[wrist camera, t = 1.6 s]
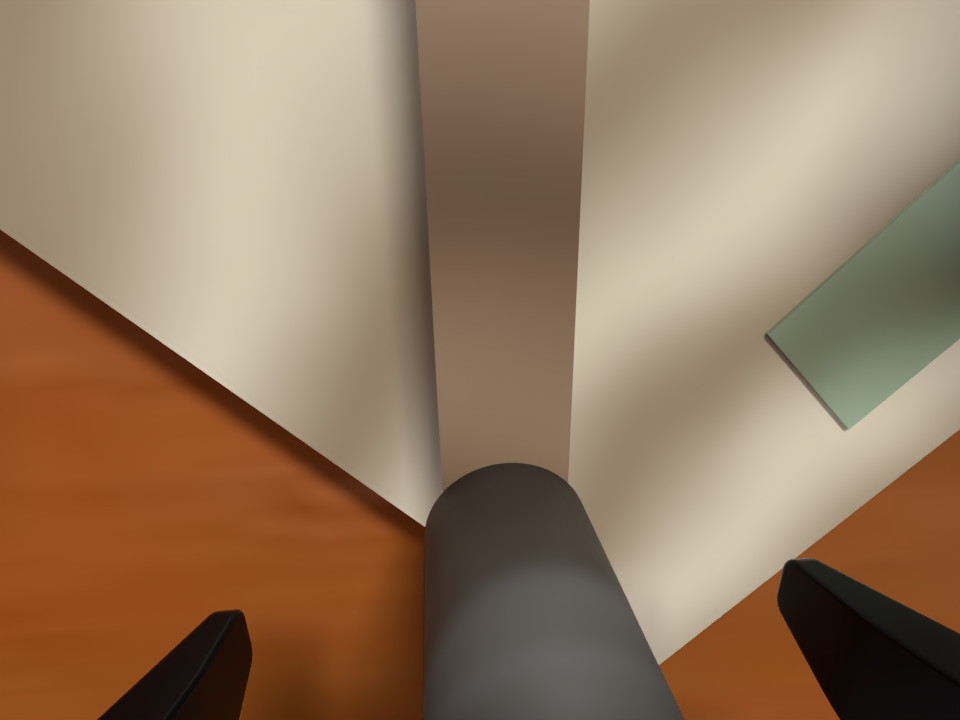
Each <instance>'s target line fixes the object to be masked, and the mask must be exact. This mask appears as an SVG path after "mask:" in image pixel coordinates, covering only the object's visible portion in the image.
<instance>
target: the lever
mask: <svg viewBox="0 0 960 720" xmlns="http://www.w3.org/2000/svg"><path fill="white" fill-rule="evenodd" d="M415 3H416V21H417V39H418V57H419V75H420V93H421V111H422V129H423V147H424V165H425V183H426V202H427V220H428V238H429V256H430V274H431V292H432V310H433V328H434V346H435V364H436V382H437V400H438V418H439V436H440V454H441V472H442V490H443V493H442V494H441V495H440V496H439V497H438V499H437V500H436V502H435V503H434V505H433V507H432V509H431V511H430V513H429V515H428V518H427V521H426V526H425V542H424V640H423V720H684V718H683V716H682V714H681V712H680V710H679V707H678V705H677V703H676V701H675V699H674V697H673V695H672V693H671V691H670V688H669V686H668V684H667V682H666V680H665V678H664V676H663V674H662V671H661V669H660V667H659V665H658V663H657V661H656V659H655V657H654V655H653V652H652V650H651V648H650V646H649V644H648V642H647V640H646V638H645V636H644V633H643V631H642V629H641V627H640V625H639V623H638V621H637V619H636V616H635V614H634V612H633V610H632V608H631V606H630V604H629V602H628V600H627V597H626V595H625V593H624V591H623V589H622V587H621V585H620V583H619V580H618V578H617V576H616V574H615V572H614V570H613V568H612V566H611V564H610V561H609V559H608V557H607V555H606V553H605V551H604V549H603V547H602V545H601V542H600V540H599V538H598V536H597V534H596V532H595V530H594V528H593V525H592V523H591V521H590V519H589V517H588V515H587V513H586V511H585V509H584V506H583V504H582V502H581V500H580V498H579V497H578V495H577V493H576V492H575V491H574V489H573V488H572V487H571V486H570V485H569V484H568V475H569V452H570V430H571V408H572V385H573V363H574V341H575V318H576V296H577V274H578V251H579V229H580V207H581V185H582V162H583V140H584V118H585V95H586V73H587V51H588V28H589V6H590V0H415Z"/></svg>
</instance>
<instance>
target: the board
mask: <svg viewBox="0 0 960 720" xmlns="http://www.w3.org/2000/svg"><path fill="white" fill-rule="evenodd" d="M0 230H2V231H3V232H5V233H6V234H7V235H9V236H10V237H12V238H13V239H15V240H16V241H17V242H19V243H20V244H22V245H23V246H25V247H26V248H27V249H29V250H30V251H32V252H33V253H35V254H36V255H37V256H39V257H40V258H42V259H43V260H45V261H46V262H47V263H49V264H50V265H52V266H53V267H55V268H56V269H57V270H59V271H60V272H62V273H63V274H65V275H66V276H67V277H69V278H70V279H72V280H73V281H75V282H76V283H77V284H79V285H80V286H82V287H83V288H85V289H86V290H87V291H89V292H90V293H92V294H93V295H95V296H96V297H97V298H99V299H100V300H102V301H103V302H105V303H106V304H107V305H109V306H110V307H112V308H113V309H115V310H116V311H117V312H119V313H120V314H122V315H123V316H125V317H126V318H127V319H129V320H130V321H132V322H133V323H135V324H136V325H137V326H139V327H140V328H142V329H143V330H144V331H146V332H147V333H149V334H150V335H152V336H153V337H154V338H156V339H157V340H159V341H160V342H162V343H163V344H164V345H166V346H167V347H169V348H170V349H172V350H173V351H174V352H176V353H177V354H179V355H180V356H182V357H183V358H184V359H186V360H187V361H189V362H190V363H192V364H193V365H194V366H196V367H197V368H199V369H200V370H202V371H203V372H204V373H206V374H207V375H209V376H210V377H212V378H213V379H214V380H216V381H217V382H219V383H220V384H222V385H223V386H224V387H226V388H227V389H229V390H230V391H232V392H233V393H234V394H236V395H237V396H239V397H240V398H242V399H243V400H244V401H246V402H247V403H249V404H250V405H252V406H253V407H254V408H256V409H257V410H259V411H260V412H262V413H263V414H264V415H266V416H267V417H269V418H270V419H272V420H273V421H274V422H276V423H277V424H279V425H280V426H282V427H283V428H284V429H286V430H287V431H289V432H290V433H292V434H293V435H294V436H296V437H297V438H299V439H300V440H301V441H303V442H304V443H306V444H307V445H309V446H310V447H311V448H313V449H314V450H316V451H317V452H319V453H320V454H321V455H323V456H324V457H326V458H327V459H329V460H330V461H331V462H333V463H334V464H336V465H337V466H339V467H340V468H341V469H343V470H344V471H346V472H347V473H349V474H350V475H351V476H353V477H354V478H356V479H357V480H359V481H360V482H361V483H363V484H364V485H366V486H367V487H369V488H370V489H371V490H373V491H374V492H376V493H377V494H379V495H380V496H381V497H383V498H384V499H386V500H387V501H389V502H390V503H391V504H393V505H394V506H396V507H397V508H399V509H400V510H401V511H403V512H404V513H406V514H407V515H409V516H410V517H411V518H413V519H414V520H416V521H417V522H419V523H420V524H421V525H423V526H424V527H425V526H426V521H427V518H428V515H429V513H430V511H431V509H432V507H433V505H434V503H435V502H436V500H437V499H438V497H439V496H440V495H441V494H442V493H443V490H442V472H441V454H440V436H439V418H438V400H437V382H436V364H435V346H434V328H433V310H432V292H431V274H430V256H429V238H428V220H427V202H426V183H425V165H424V147H423V129H422V111H421V93H420V75H419V57H418V39H417V21H416V3H415V0H0ZM959 429H960V0H590V6H589V28H588V51H587V73H586V95H585V118H584V140H583V162H582V185H581V207H580V229H579V251H578V274H577V296H576V318H575V341H574V363H573V385H572V408H571V430H570V452H569V475H568V484H569V485H570V486H571V487H572V488H573V489H574V491H575V492H576V493H577V495H578V497H579V498H580V500H581V502H582V504H583V506H584V509H585V511H586V513H587V515H588V517H589V519H590V521H591V523H592V525H593V528H594V530H595V532H596V534H597V536H598V538H599V540H600V542H601V545H602V547H603V549H604V551H605V553H606V555H607V557H608V559H609V561H610V564H611V566H612V568H613V570H614V572H615V574H616V576H617V578H618V580H619V583H620V585H621V587H622V589H623V591H624V593H625V595H626V597H627V600H628V602H629V604H630V606H631V608H632V610H633V612H634V614H635V616H636V619H637V621H638V623H639V625H640V627H641V629H642V631H643V633H644V636H645V638H646V640H647V642H648V644H649V646H650V648H651V650H652V652H653V655H654V657H655V659H656V661H657V663H658V665H660V664H661V663H662V662H663V661H665V660H666V659H667V658H668V657H670V656H671V655H672V654H674V653H675V652H676V651H677V650H679V649H680V648H681V647H682V646H684V645H685V644H686V643H688V642H689V641H690V640H691V639H693V638H694V637H695V636H697V635H698V634H699V633H700V632H702V631H703V630H704V629H705V628H707V627H708V626H709V625H711V624H712V623H713V622H714V621H716V620H717V619H718V618H719V617H721V616H722V615H723V614H725V613H726V612H727V611H728V610H730V609H731V608H732V607H733V606H735V605H736V604H737V603H739V602H740V601H741V600H742V599H744V598H745V597H746V596H748V595H749V594H750V593H751V592H753V591H754V590H755V589H756V588H758V587H759V586H760V585H762V584H763V583H764V582H765V581H767V580H768V579H769V578H770V577H772V576H773V575H774V574H776V573H777V572H778V571H779V570H781V569H782V568H783V567H784V564H785V563H786V562H787V561H788V560H790V559H795V558H796V557H797V556H799V555H800V554H801V553H802V552H804V551H805V550H806V549H807V548H809V547H810V546H811V545H813V544H814V543H815V542H816V541H818V540H819V539H820V538H822V537H823V536H824V535H825V534H827V533H828V532H829V531H830V530H832V529H833V528H834V527H836V526H837V525H838V524H839V523H841V522H842V521H843V520H844V519H846V518H847V517H848V516H850V515H851V514H852V513H853V512H855V511H856V510H857V509H859V508H860V507H861V506H862V505H864V504H865V503H866V502H867V501H869V500H870V499H871V498H873V497H874V496H875V495H876V494H878V493H879V492H880V491H881V490H883V489H884V488H885V487H887V486H888V485H889V484H890V483H892V482H893V481H894V480H896V479H897V478H898V477H899V476H901V475H902V474H903V473H904V472H906V471H907V470H908V469H910V468H911V467H912V466H913V465H915V464H916V463H917V462H918V461H920V460H921V459H922V458H924V457H925V456H926V455H927V454H929V453H930V452H931V451H932V450H934V449H935V448H936V447H938V446H939V445H940V444H941V443H943V442H944V441H945V440H947V439H948V438H949V437H950V436H952V435H953V434H954V433H955V432H957V431H958V430H959Z"/></svg>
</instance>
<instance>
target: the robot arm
mask: <svg viewBox="0 0 960 720" xmlns="http://www.w3.org/2000/svg"><path fill="white" fill-rule="evenodd" d="M777 603H778V607H779V610H780V612H781V614H782V616H783V618H784V620H785V622H786V624H787V626H788V627H789V629H790V631H791V633H792V635H793V637H794V638H795V640H796V642H797V644H798V646H799V648H800V650H801V651H802V653H803V655H804V657H805V659H806V661H807V662H808V664H809V666H810V668H811V670H812V672H813V674H814V675H815V677H816V679H817V681H818V683H819V685H820V687H821V688H822V690H823V692H824V694H825V695H826V697H827V699H828V701H829V702H830V704H831V706H832V707H833V709H834V711H835V712H836V714H837V715H838V717H839V719H840V720H960V634H959V633H957V632H955V631H953V630H951V629H949V628H947V627H945V626H944V625H942V624H940V623H938V622H936V621H934V620H932V619H930V618H928V617H926V616H924V615H922V614H920V613H918V612H916V611H914V610H913V609H911V608H909V607H907V606H905V605H903V604H901V603H899V602H897V601H895V600H893V599H891V598H889V597H887V596H885V595H883V594H882V593H880V592H878V591H876V590H874V589H872V588H870V587H868V586H866V585H864V584H862V583H860V582H858V581H856V580H854V579H852V578H851V577H849V576H847V575H845V574H843V573H841V572H839V571H837V570H835V569H833V568H831V567H829V566H827V565H825V564H823V563H821V562H820V561H818V560H815V559H813V558H799V559H790V560H788V561H787V562H786V563H785V564H784V567H783V571H782V575H781V580H780V584H779V588H778V593H777ZM251 663H252V645H251V641H250V637H249V633H248V628H247V624H246V620H245V616H244V614H243V612H242V611H241V610H227V611H217V612H214V613H212V614H211V615H210V616H208V617H207V618H206V619H205V620H204V621H203V622H202V623H201V624H200V625H199V626H198V627H196V628H195V629H194V630H193V631H192V632H191V633H190V634H189V635H188V636H187V637H186V638H185V639H184V640H182V641H181V642H180V643H179V644H178V645H177V646H176V647H175V648H174V649H173V650H172V651H171V652H170V653H168V654H167V655H166V656H165V657H164V658H163V659H162V660H161V661H160V662H159V663H158V664H157V665H156V666H154V667H153V668H152V669H151V670H150V671H149V672H148V673H147V674H146V675H145V676H144V677H143V678H142V679H140V680H139V681H138V682H137V683H136V684H135V685H134V686H133V687H132V688H131V689H130V690H129V691H128V692H126V693H125V694H124V695H123V696H122V697H121V698H120V699H119V700H118V701H117V702H116V703H115V704H114V705H112V706H111V707H110V708H109V709H108V710H107V711H106V712H105V713H104V714H103V715H102V716H101V717H100V718H98V719H97V720H239V716H240V712H241V708H242V703H243V699H244V694H245V690H246V686H247V681H248V677H249V672H250V668H251Z"/></svg>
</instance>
